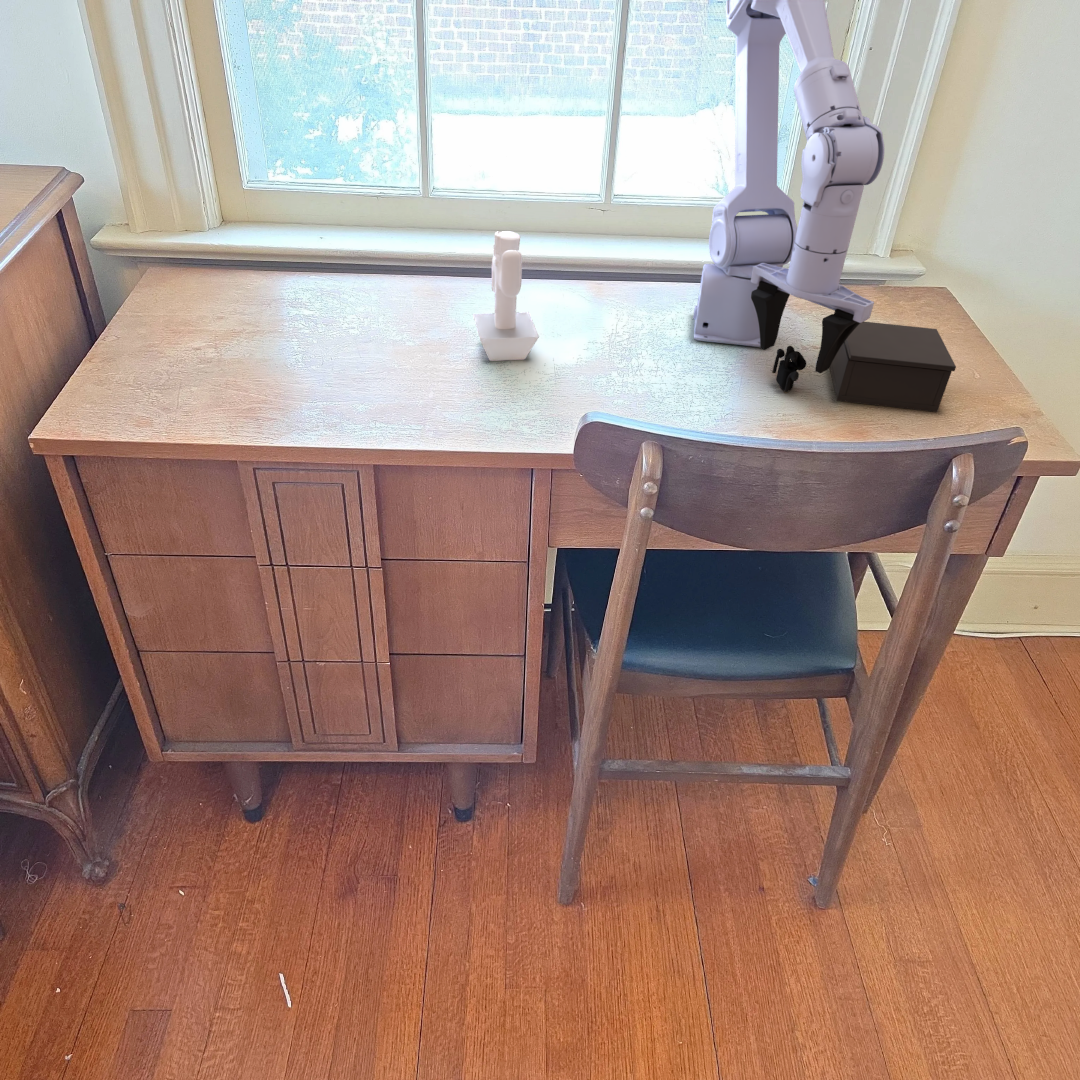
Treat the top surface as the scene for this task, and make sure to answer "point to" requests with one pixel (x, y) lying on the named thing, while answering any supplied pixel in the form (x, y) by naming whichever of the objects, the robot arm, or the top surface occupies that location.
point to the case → (887, 383)
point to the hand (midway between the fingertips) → (794, 358)
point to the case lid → (899, 346)
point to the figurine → (506, 305)
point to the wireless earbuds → (788, 367)
